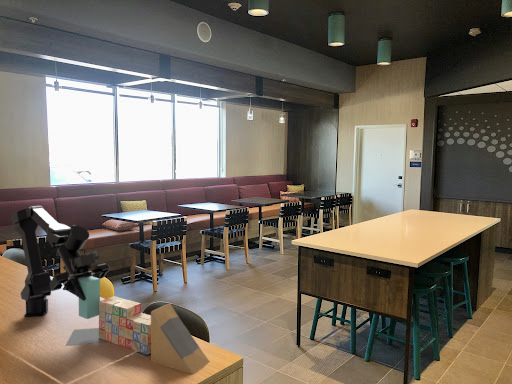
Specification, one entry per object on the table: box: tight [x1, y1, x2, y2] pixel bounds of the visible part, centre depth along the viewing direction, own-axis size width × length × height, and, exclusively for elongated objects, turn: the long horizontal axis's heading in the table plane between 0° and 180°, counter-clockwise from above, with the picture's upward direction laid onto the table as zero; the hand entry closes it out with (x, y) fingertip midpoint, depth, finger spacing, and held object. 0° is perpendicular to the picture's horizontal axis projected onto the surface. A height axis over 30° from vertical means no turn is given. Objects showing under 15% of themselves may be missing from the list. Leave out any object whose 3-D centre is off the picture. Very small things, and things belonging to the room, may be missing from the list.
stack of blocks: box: [98, 295, 151, 356], centre depth 125 cm, size 21×6×12 cm, turn 61°
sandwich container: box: [150, 303, 211, 375], centre depth 114 cm, size 9×15×15 cm, turn 63°
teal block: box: [78, 276, 101, 320], centre depth 128 cm, size 5×5×12 cm
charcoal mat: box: [65, 327, 108, 347], centre depth 129 cm, size 12×12×1 cm
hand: (91, 297), depth 127 cm, fingers closed on teal block, 5 cm apart
